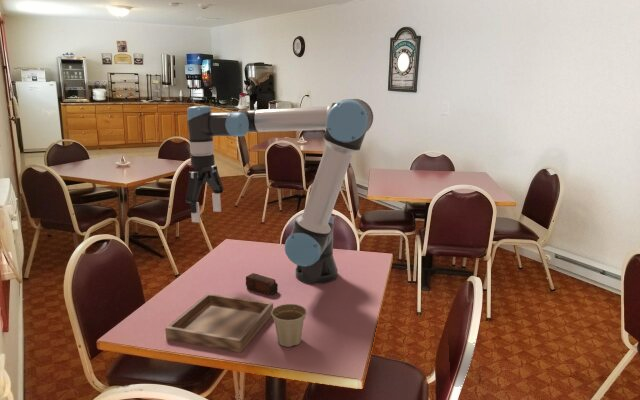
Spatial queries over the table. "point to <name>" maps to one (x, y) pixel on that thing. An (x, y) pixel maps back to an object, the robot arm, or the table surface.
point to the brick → (261, 284)
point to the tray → (220, 322)
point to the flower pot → (289, 323)
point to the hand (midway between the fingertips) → (207, 216)
